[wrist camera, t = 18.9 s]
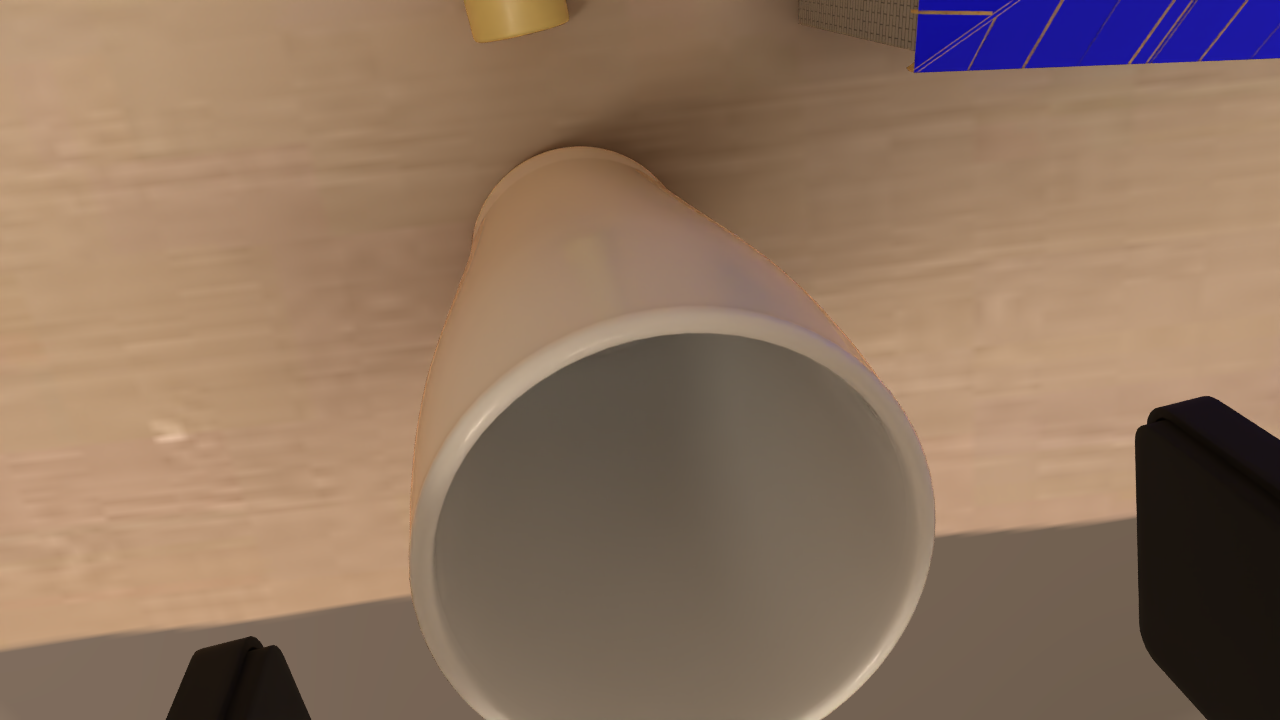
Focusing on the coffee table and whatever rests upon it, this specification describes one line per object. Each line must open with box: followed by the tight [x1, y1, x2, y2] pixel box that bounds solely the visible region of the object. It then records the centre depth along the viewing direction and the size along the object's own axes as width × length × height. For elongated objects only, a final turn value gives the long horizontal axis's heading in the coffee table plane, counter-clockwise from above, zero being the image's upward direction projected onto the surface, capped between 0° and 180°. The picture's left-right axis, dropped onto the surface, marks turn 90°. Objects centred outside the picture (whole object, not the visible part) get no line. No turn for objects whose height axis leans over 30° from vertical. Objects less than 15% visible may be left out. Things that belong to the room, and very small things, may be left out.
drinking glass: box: [409, 146, 935, 720], centre depth 20 cm, size 7×7×15 cm
